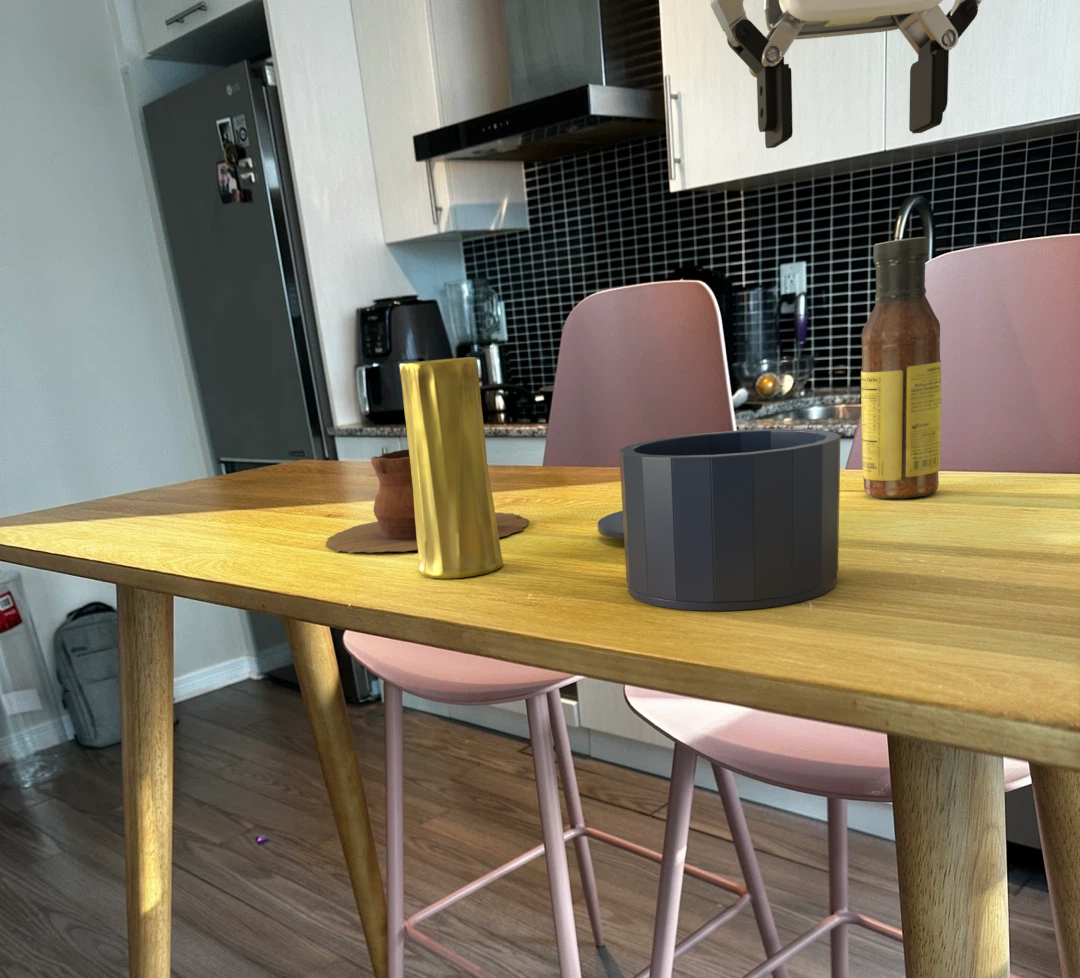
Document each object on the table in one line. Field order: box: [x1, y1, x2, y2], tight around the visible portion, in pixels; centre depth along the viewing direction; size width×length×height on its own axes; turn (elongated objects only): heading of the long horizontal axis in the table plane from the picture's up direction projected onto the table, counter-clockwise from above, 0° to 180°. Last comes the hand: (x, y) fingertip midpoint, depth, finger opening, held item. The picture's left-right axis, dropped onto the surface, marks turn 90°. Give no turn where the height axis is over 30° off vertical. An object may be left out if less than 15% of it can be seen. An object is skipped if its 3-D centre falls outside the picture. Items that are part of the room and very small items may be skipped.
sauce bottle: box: [860, 236, 942, 500], centre depth 84 cm, size 6×6×20 cm
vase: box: [399, 356, 504, 580], centre depth 71 cm, size 6×6×14 cm
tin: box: [618, 428, 841, 612], centre depth 62 cm, size 13×13×8 cm
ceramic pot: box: [325, 448, 530, 554], centre depth 88 cm, size 18×18×7 cm
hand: (852, 136), depth 65 cm, fingers open, 9 cm apart
